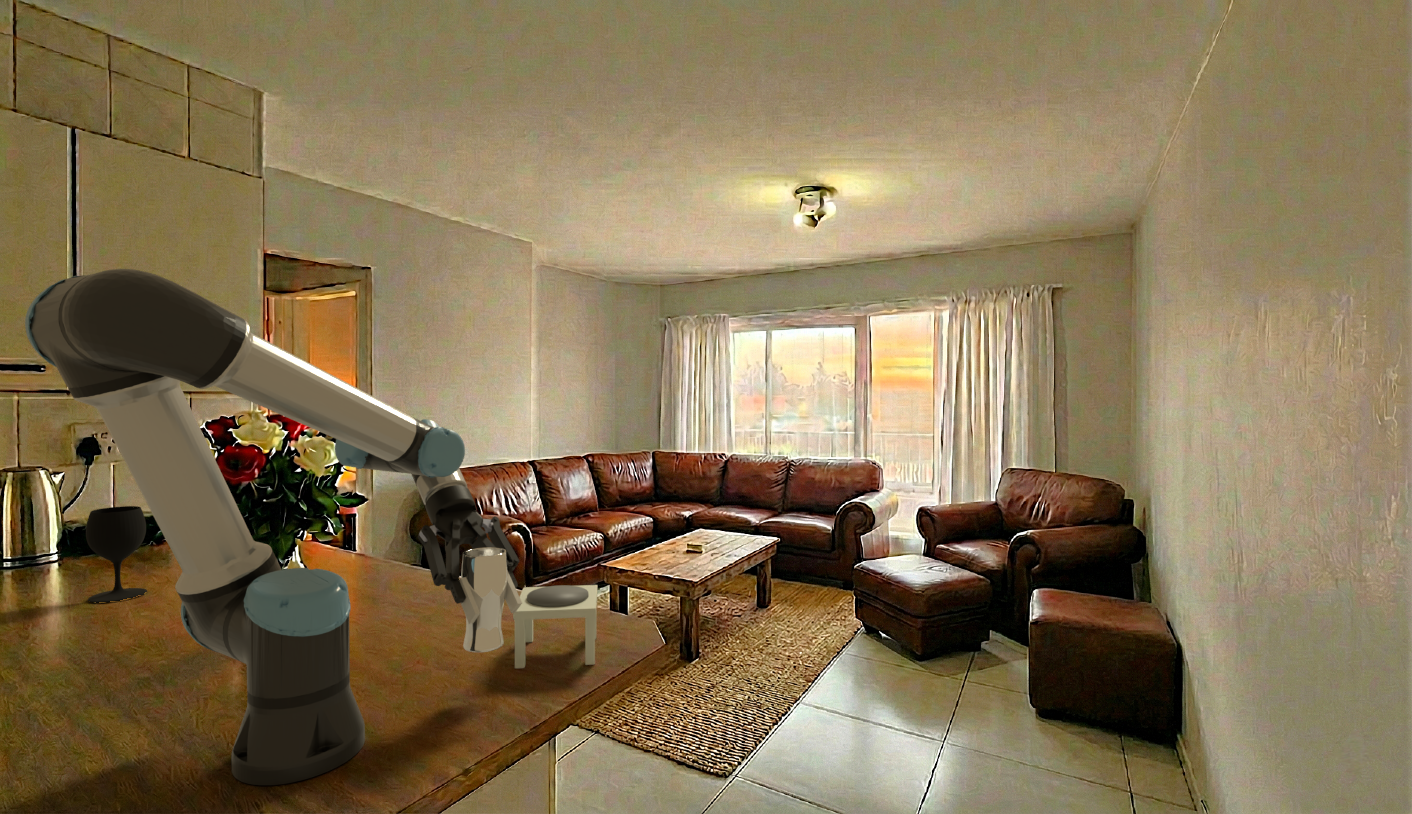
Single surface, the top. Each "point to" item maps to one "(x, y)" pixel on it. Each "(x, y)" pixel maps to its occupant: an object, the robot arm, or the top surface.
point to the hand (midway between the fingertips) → (496, 613)
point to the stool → (555, 614)
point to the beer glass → (485, 596)
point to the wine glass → (116, 543)
